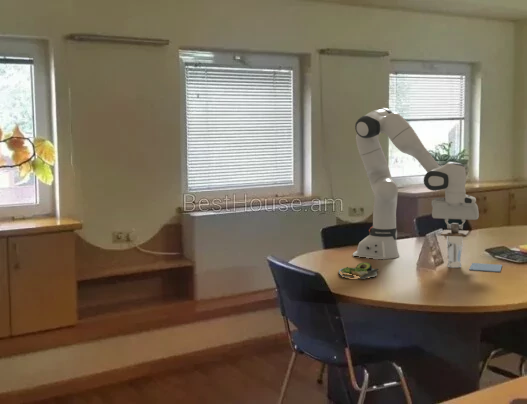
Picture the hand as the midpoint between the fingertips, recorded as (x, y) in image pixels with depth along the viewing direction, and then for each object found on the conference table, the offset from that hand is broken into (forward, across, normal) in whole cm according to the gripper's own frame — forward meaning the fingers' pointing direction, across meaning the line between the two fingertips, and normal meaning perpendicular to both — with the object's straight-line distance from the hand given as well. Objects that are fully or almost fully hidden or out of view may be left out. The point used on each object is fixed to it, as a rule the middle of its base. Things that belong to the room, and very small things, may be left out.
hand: (454, 228), depth 302 cm
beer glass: (+18, 0, 0) cm, 18 cm away
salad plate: (+18, -37, -28) cm, 50 cm away
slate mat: (+17, +14, +1) cm, 22 cm away
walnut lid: (+2, 0, 0) cm, 2 cm away
